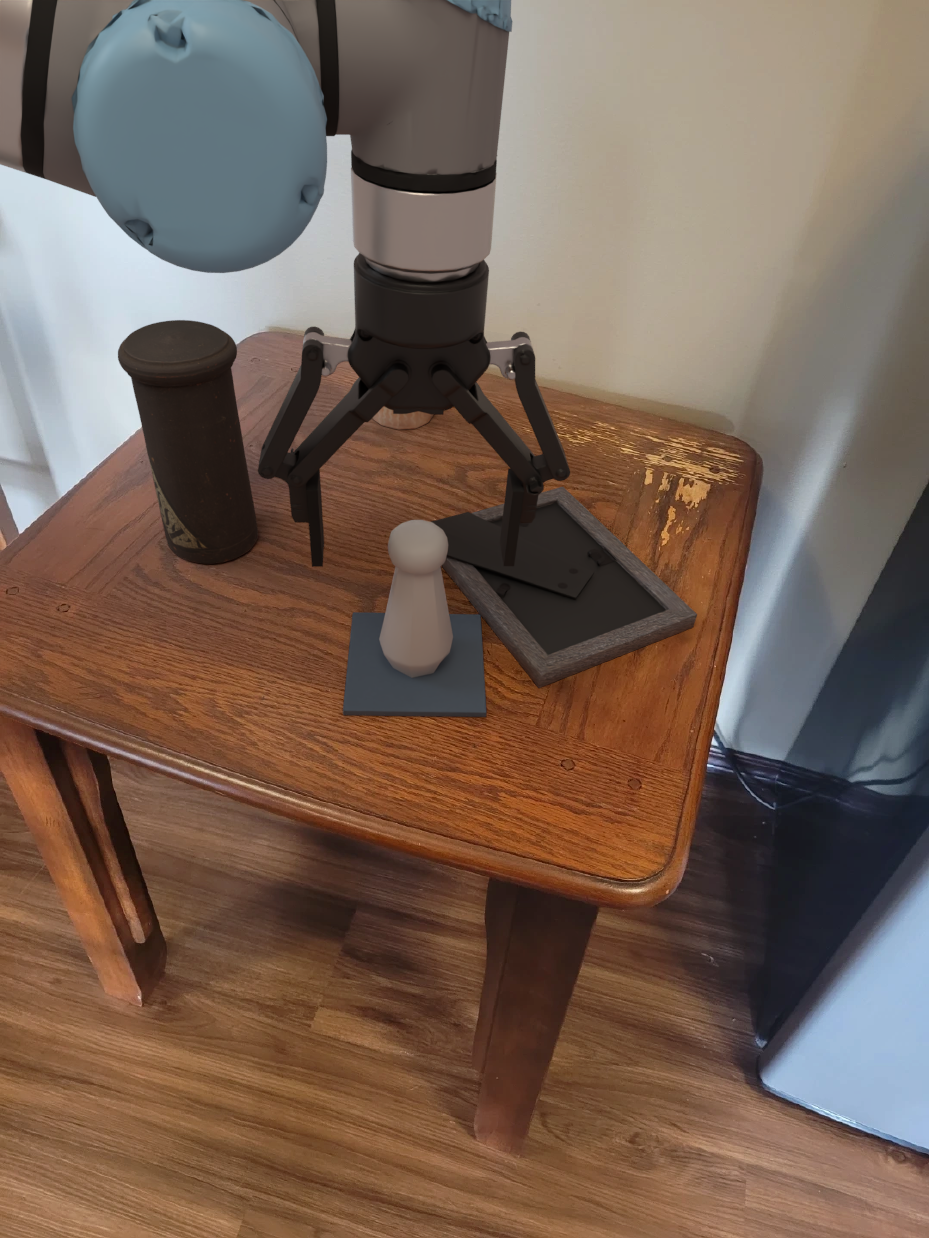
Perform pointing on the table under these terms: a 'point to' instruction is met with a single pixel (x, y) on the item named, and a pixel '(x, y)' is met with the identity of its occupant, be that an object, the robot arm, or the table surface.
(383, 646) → the salt shaker
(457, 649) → the mat
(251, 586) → the table surface
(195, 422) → the container
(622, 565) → the picture frame
